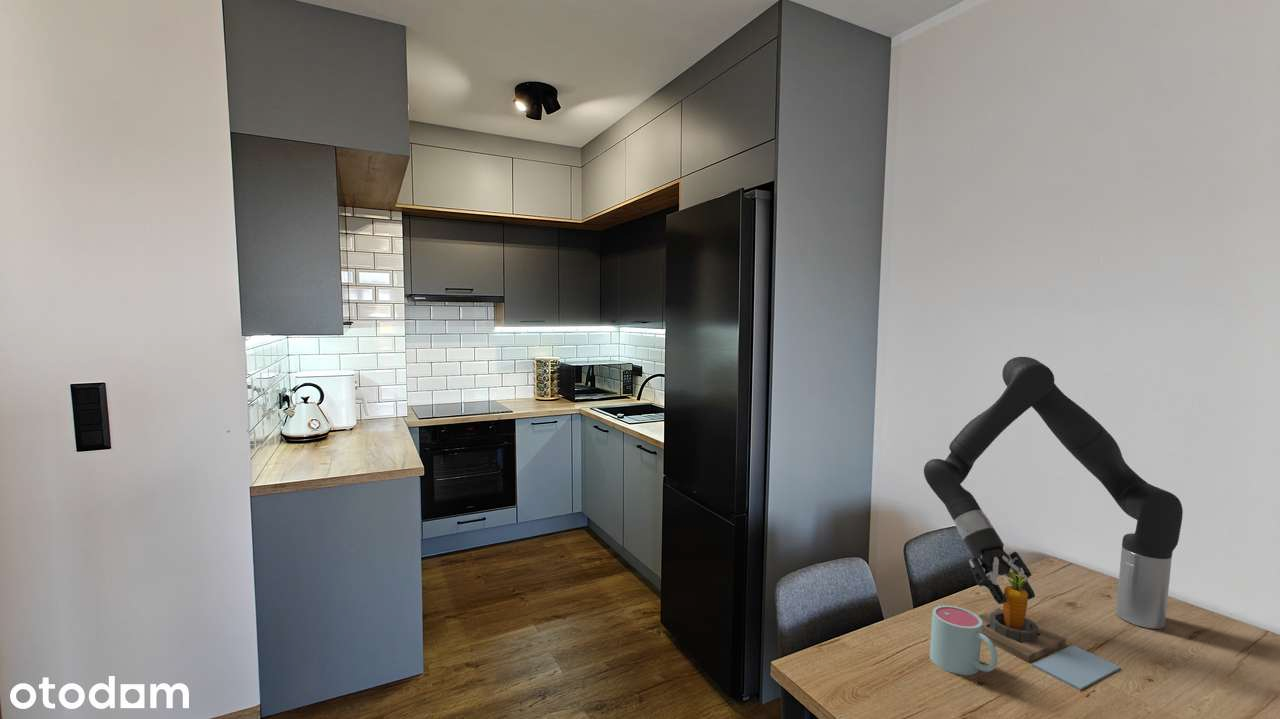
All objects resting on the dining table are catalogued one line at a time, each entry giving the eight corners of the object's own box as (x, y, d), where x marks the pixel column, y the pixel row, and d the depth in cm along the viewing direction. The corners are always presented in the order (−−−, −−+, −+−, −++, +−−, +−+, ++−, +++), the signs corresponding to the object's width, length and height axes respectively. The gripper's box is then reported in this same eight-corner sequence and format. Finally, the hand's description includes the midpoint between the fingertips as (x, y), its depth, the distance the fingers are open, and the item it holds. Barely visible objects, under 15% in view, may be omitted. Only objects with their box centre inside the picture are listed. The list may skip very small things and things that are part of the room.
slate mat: (1072, 646, 131) (1072, 645, 131) (1120, 668, 123) (1120, 666, 123) (1031, 665, 123) (1032, 663, 123) (1080, 690, 115) (1080, 688, 115)
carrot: (1029, 643, 132) (1034, 579, 130) (1004, 640, 132) (1009, 576, 131) (1019, 632, 136) (1024, 569, 135) (996, 629, 137) (1001, 567, 136)
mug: (919, 654, 126) (922, 609, 125) (950, 645, 130) (953, 602, 129) (978, 693, 114) (982, 643, 113) (1010, 682, 117) (1014, 634, 117)
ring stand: (998, 613, 145) (999, 600, 144) (1066, 644, 131) (1067, 630, 131) (960, 628, 137) (962, 613, 137) (1028, 662, 124) (1029, 646, 124)
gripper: (965, 529, 138) (1005, 598, 128) (1010, 523, 143) (1052, 590, 133) (945, 542, 144) (982, 610, 134) (989, 537, 148) (1028, 602, 138)
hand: (1017, 600), depth 133 cm, fingers open, 8 cm apart
